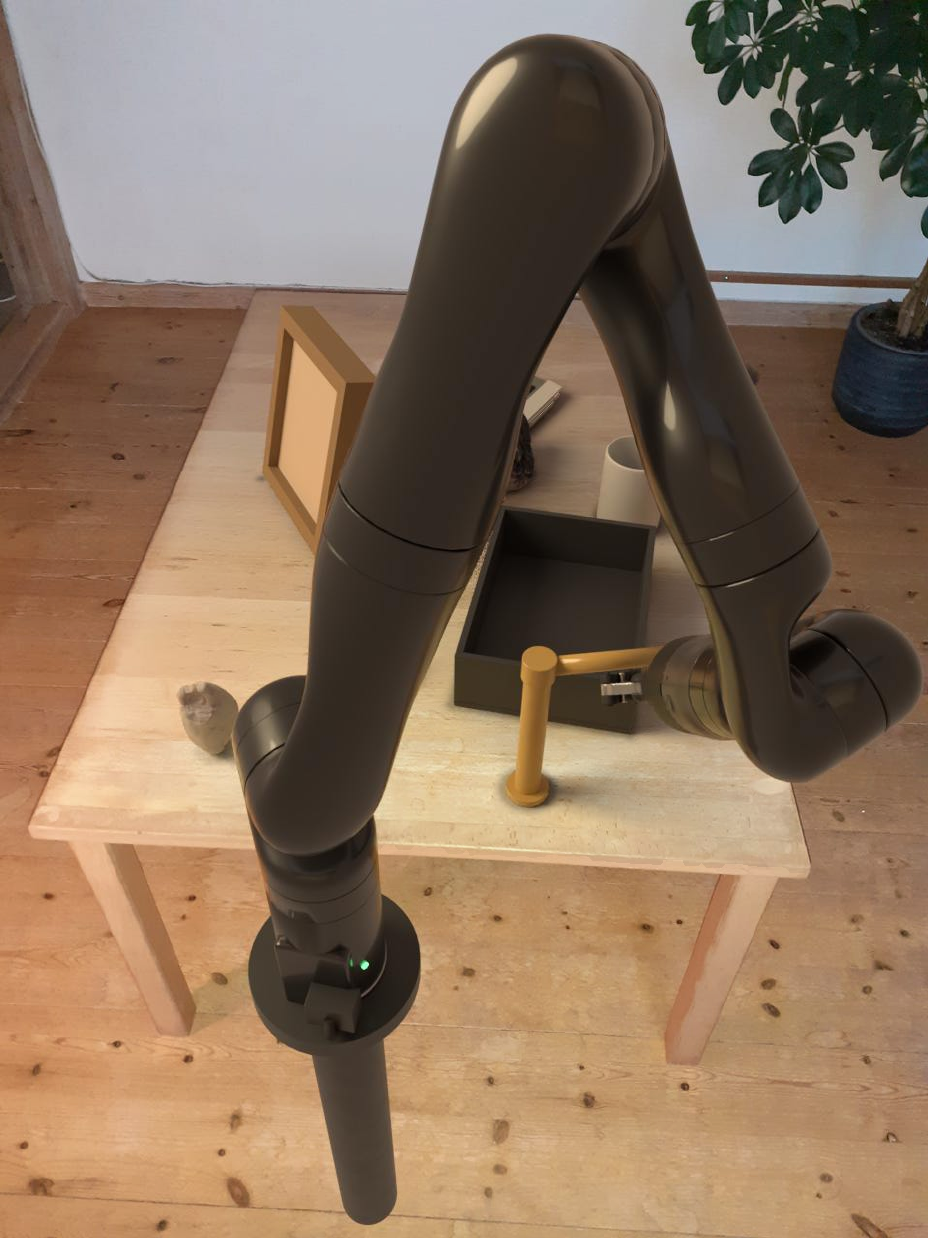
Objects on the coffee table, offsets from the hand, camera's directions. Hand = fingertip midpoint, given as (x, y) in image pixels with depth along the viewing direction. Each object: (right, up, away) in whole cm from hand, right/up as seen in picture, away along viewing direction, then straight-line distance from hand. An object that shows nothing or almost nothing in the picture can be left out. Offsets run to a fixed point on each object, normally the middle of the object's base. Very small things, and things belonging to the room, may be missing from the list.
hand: (643, 680), depth 88 cm
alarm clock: (-12, +39, +68) cm, 79 cm away
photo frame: (-33, +21, +48) cm, 62 cm away
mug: (+8, +19, +47) cm, 51 cm away
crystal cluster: (-12, +27, +55) cm, 63 cm away
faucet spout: (-3, -1, +4) cm, 5 cm away
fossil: (-42, -8, +17) cm, 46 cm away
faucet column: (-10, -12, +13) cm, 20 cm away
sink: (-5, +4, +30) cm, 31 cm away
